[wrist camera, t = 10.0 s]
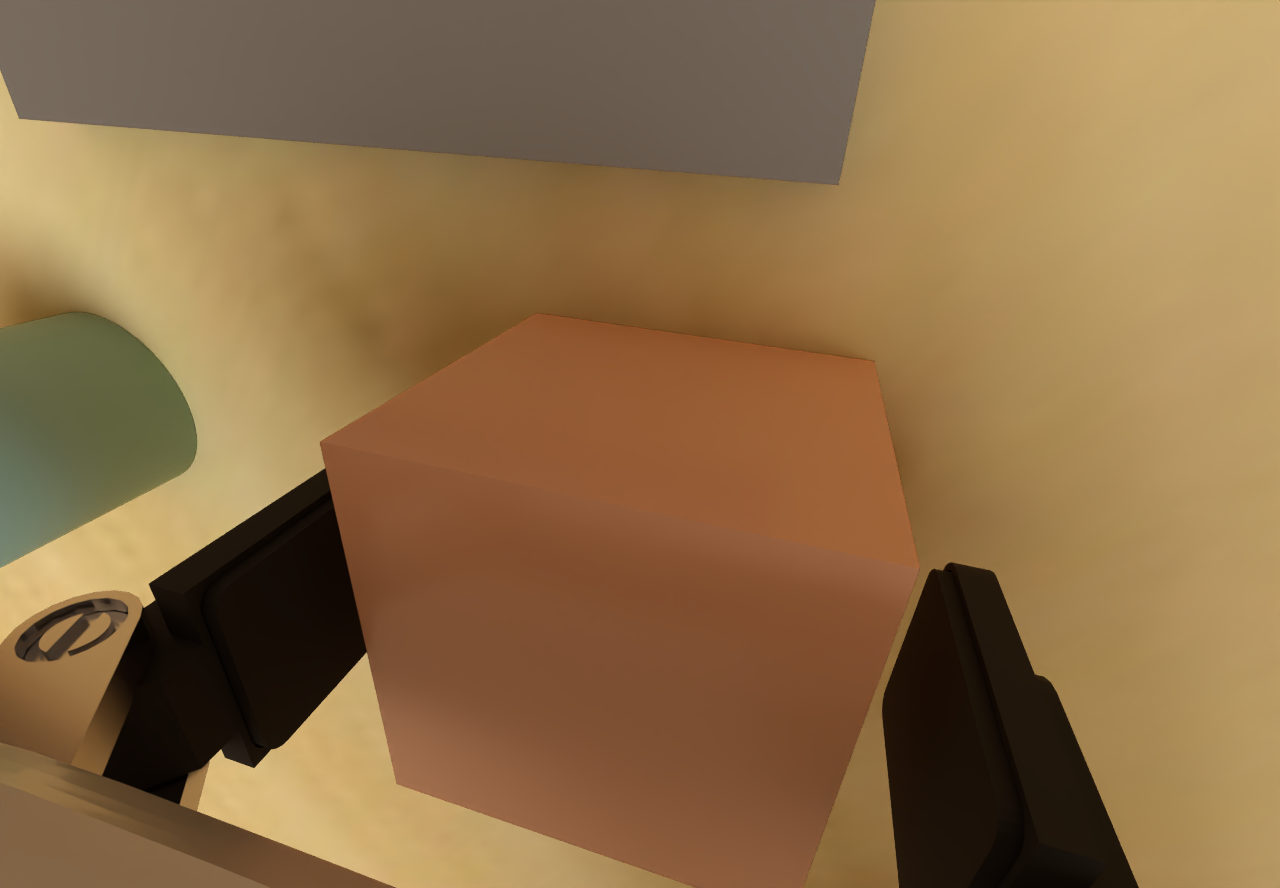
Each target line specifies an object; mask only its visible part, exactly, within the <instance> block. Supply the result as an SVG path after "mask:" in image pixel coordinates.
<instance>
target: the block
mask: <svg viewBox="0 0 1280 888" xmlns="http://www.w3.org/2000/svg"><path fill="white" fill-rule="evenodd" d="M320 446H321V450H322V454H323V459H324V463H325V468H326V472H327V477H328V481H329V485H330V490H331V494H332V499H333V503H334V508H335V512H336V517H337V521H338V525H339V530H340V534H341V539H342V543H343V548H344V552H345V556H346V561H347V565H348V570H349V574H350V579H351V583H352V588H353V592H354V596H355V601H356V605H357V610H358V614H359V619H360V623H361V627H362V632H363V636H364V641H365V645H366V650H367V654H368V659H369V663H370V667H371V672H372V676H373V681H374V685H375V690H376V694H377V698H378V703H379V707H380V712H381V716H382V721H383V725H384V730H385V734H386V738H387V743H388V747H389V752H390V756H391V761H392V765H393V769H394V774H395V778H396V783H397V784H398V785H401V786H404V787H407V788H410V789H413V790H416V791H419V792H422V793H424V794H427V795H430V796H433V797H436V798H439V799H442V800H445V801H448V802H451V803H453V804H456V805H459V806H462V807H465V808H468V809H471V810H474V811H477V812H479V813H482V814H485V815H488V816H491V817H494V818H497V819H500V820H503V821H505V822H508V823H511V824H514V825H517V826H520V827H523V828H526V829H529V830H532V831H534V832H537V833H540V834H543V835H546V836H549V837H552V838H555V839H558V840H560V841H563V842H566V843H569V844H572V845H575V846H578V847H581V848H584V849H586V850H589V851H592V852H595V853H598V854H601V855H604V856H607V857H610V858H612V859H615V860H618V861H621V862H624V863H627V864H630V865H633V866H636V867H639V868H641V869H644V870H647V871H650V872H653V873H656V874H659V875H662V876H665V877H667V878H670V879H673V880H676V881H679V882H682V883H685V884H688V885H691V886H693V887H696V888H803V886H804V884H805V881H806V878H807V875H808V873H809V870H810V867H811V865H812V862H813V859H814V856H815V854H816V851H817V848H818V845H819V843H820V840H821V837H822V835H823V832H824V829H825V826H826V824H827V821H828V818H829V815H830V813H831V810H832V807H833V805H834V802H835V799H836V796H837V794H838V791H839V788H840V786H841V783H842V780H843V777H844V775H845V772H846V769H847V766H848V764H849V761H850V758H851V756H852V753H853V750H854V747H855V745H856V742H857V739H858V736H859V734H860V731H861V728H862V726H863V723H864V720H865V717H866V715H867V712H868V709H869V707H870V704H871V701H872V698H873V696H874V693H875V690H876V687H877V685H878V682H879V679H880V677H881V674H882V671H883V668H884V666H885V663H886V660H887V657H888V655H889V652H890V649H891V647H892V644H893V641H894V638H895V636H896V633H897V630H898V627H899V625H900V622H901V619H902V617H903V614H904V611H905V608H906V606H907V603H908V600H909V598H910V595H911V592H912V589H913V587H914V584H915V581H916V578H917V576H918V573H919V570H920V566H919V561H918V557H917V552H916V548H915V543H914V539H913V534H912V530H911V525H910V521H909V516H908V512H907V507H906V503H905V498H904V493H903V489H902V484H901V480H900V475H899V471H898V466H897V462H896V457H895V453H894V448H893V444H892V439H891V435H890V430H889V426H888V421H887V416H886V412H885V407H884V403H883V398H882V394H881V389H880V385H879V380H878V376H877V371H876V367H875V362H874V361H869V360H862V359H855V358H848V357H841V356H834V355H827V354H820V353H813V352H806V351H799V350H792V349H785V348H778V347H771V346H764V345H757V344H750V343H743V342H736V341H729V340H722V339H715V338H708V337H701V336H694V335H687V334H680V333H673V332H666V331H659V330H652V329H645V328H638V327H631V326H624V325H617V324H610V323H603V322H596V321H589V320H582V319H575V318H568V317H561V316H554V315H547V314H540V313H536V314H534V315H532V316H531V317H529V318H527V319H525V320H524V321H522V322H520V323H519V324H517V325H515V326H514V327H512V328H510V329H509V330H507V331H505V332H504V333H502V334H500V335H499V336H497V337H495V338H493V339H492V340H490V341H488V342H487V343H485V344H483V345H482V346H480V347H478V348H477V349H475V350H473V351H472V352H470V353H468V354H467V355H465V356H463V357H462V358H460V359H458V360H456V361H455V362H453V363H451V364H450V365H448V366H446V367H445V368H443V369H441V370H440V371H438V372H436V373H435V374H433V375H431V376H430V377H428V378H426V379H425V380H423V381H421V382H419V383H418V384H416V385H414V386H413V387H411V388H409V389H408V390H406V391H404V392H403V393H401V394H399V395H398V396H396V397H394V398H393V399H391V400H389V401H388V402H386V403H384V404H382V405H381V406H379V407H377V408H376V409H374V410H372V411H371V412H369V413H367V414H366V415H364V416H362V417H361V418H359V419H357V420H356V421H354V422H352V423H351V424H349V425H347V426H345V427H344V428H342V429H340V430H339V431H337V432H335V433H334V434H332V435H330V436H329V437H327V438H325V439H324V440H322V441H320Z"/></svg>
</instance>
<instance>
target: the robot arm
mask: <svg viewBox="0 0 1280 888" xmlns="http://www.w3.org/2000/svg"><path fill="white" fill-rule="evenodd" d="M149 586H150V588H151V591H152V593H153V595H154V597H155V601H154V602H152V603H151V604H149V605H148V606H146V607H145V608H144V607H143V605H142V603H141V601H140V599H139V597H137V596H135V595H133V594H131V593H129V592H123V591H115V590H113V591H102V592H93V593H89V594H85V595H81V596H77V597H73V598H71V599H68V600H65V601H63V602H60V603H57V604H55V605H52V606H50V607H49V608H47V609H45V610H43V611H41V612H39V613H37V614H35V615H33V616H32V617H30V618H29V619H27V620H26V621H25V622H23V623H22V624H20V625H19V626H18V627H16V628H15V629H14V630H13V631H12V632H11V633H10V634H9V635H8V636H7V638H6V639H5V640H4V641H3V642H2V643H1V645H0V888H395V887H393V886H390V885H388V884H385V883H382V882H380V881H377V880H375V879H372V878H369V877H367V876H364V875H362V874H359V873H356V872H354V871H351V870H349V869H346V868H343V867H341V866H338V865H336V864H333V863H331V862H328V861H325V860H323V859H320V858H318V857H315V856H312V855H310V854H307V853H305V852H302V851H299V850H297V849H294V848H292V847H289V846H286V845H284V844H281V843H279V842H276V841H273V840H271V839H268V838H265V837H263V836H260V835H258V834H255V833H252V832H250V831H247V830H244V829H242V828H239V827H236V826H234V825H231V824H229V823H226V822H223V821H221V820H218V819H215V818H213V817H210V816H208V815H205V814H202V813H200V812H197V809H198V805H199V801H200V797H201V794H202V790H203V786H204V782H205V778H206V774H207V770H208V767H209V760H210V759H211V758H212V757H213V756H214V755H215V754H216V753H217V752H218V751H219V750H220V749H222V752H223V754H224V756H225V758H228V759H230V760H233V761H236V762H239V763H241V764H244V765H247V766H250V767H253V768H255V767H256V765H257V764H258V763H259V762H260V761H261V760H262V759H263V758H264V757H265V756H266V755H267V753H268V752H269V751H270V750H271V749H276V748H278V747H280V746H281V745H283V744H284V743H285V742H286V741H287V740H288V739H289V738H290V737H291V736H292V735H293V734H294V733H295V731H296V730H297V729H298V728H299V727H300V726H301V725H302V724H303V722H304V721H305V720H306V719H307V718H308V717H309V716H310V715H311V714H312V712H313V711H314V710H315V709H316V708H317V707H318V706H319V705H320V704H321V702H322V701H323V700H324V699H325V698H326V697H327V696H328V695H329V694H330V692H331V691H332V690H333V689H334V688H335V687H336V686H337V685H338V683H339V682H340V681H341V680H342V679H343V678H344V677H345V676H346V675H347V673H348V672H349V671H350V670H351V669H352V668H353V667H354V666H355V665H356V663H357V662H358V661H359V660H360V659H361V658H362V657H363V656H364V655H365V653H366V652H367V650H366V645H365V641H364V636H363V632H362V627H361V623H360V619H359V614H358V610H357V605H356V601H355V596H354V592H353V588H352V583H351V579H350V574H349V570H348V565H347V561H346V556H345V552H344V548H343V543H342V539H341V534H340V530H339V525H338V521H337V517H336V512H335V508H334V503H333V499H332V494H331V490H330V485H329V481H328V477H327V472H326V468H325V469H323V470H322V471H320V472H319V473H317V474H316V475H314V476H313V477H311V478H310V479H308V480H307V481H305V482H304V483H302V484H300V485H299V486H297V487H296V488H294V489H293V490H291V491H290V492H288V493H287V494H285V495H284V496H282V497H281V498H279V499H278V500H276V501H275V502H273V503H271V504H270V505H268V506H267V507H265V508H264V509H262V510H261V511H259V512H258V513H256V514H255V515H253V516H252V517H250V518H249V519H247V520H245V521H244V522H242V523H241V524H239V525H238V526H236V527H235V528H233V529H232V530H230V531H229V532H227V533H226V534H224V535H223V536H221V537H219V538H218V539H216V540H215V541H213V542H212V543H210V544H209V545H207V546H206V547H204V548H203V549H201V550H200V551H198V552H197V553H195V554H194V555H192V556H190V557H189V558H187V559H186V560H184V561H183V562H181V563H180V564H178V565H177V566H175V567H174V568H172V569H171V570H169V571H168V572H166V573H164V574H163V575H161V576H160V577H158V578H157V579H155V580H154V581H152V582H151V583H149ZM882 718H883V728H884V738H885V748H886V758H887V768H888V778H889V788H890V798H891V808H892V818H893V828H894V839H895V849H896V859H897V869H898V879H899V888H1139V887H1138V885H1137V883H1136V880H1135V878H1134V875H1133V873H1132V871H1131V868H1130V866H1129V864H1128V861H1127V859H1126V856H1125V854H1124V852H1123V849H1122V847H1121V845H1120V842H1119V840H1118V837H1117V835H1116V833H1115V830H1114V828H1113V825H1112V823H1111V821H1110V818H1109V816H1108V814H1107V811H1106V809H1105V806H1104V804H1103V802H1102V799H1101V797H1100V794H1099V792H1098V790H1097V787H1096V785H1095V783H1094V780H1093V778H1092V775H1091V773H1090V771H1089V768H1088V766H1087V763H1086V761H1085V759H1084V756H1083V754H1082V752H1081V749H1080V747H1079V744H1078V742H1077V740H1076V737H1075V735H1074V733H1073V730H1072V728H1071V725H1070V723H1069V721H1068V718H1067V716H1066V713H1065V711H1064V709H1063V706H1062V704H1061V702H1060V699H1059V697H1058V694H1057V692H1056V691H1055V689H1054V687H1053V685H1052V684H1051V682H1050V681H1048V680H1047V679H1046V678H1045V677H1043V676H1038V675H1035V674H1034V671H1033V669H1032V666H1031V664H1030V661H1029V659H1028V656H1027V654H1026V651H1025V649H1024V646H1023V643H1022V641H1021V638H1020V636H1019V633H1018V631H1017V628H1016V626H1015V623H1014V621H1013V618H1012V615H1011V613H1010V610H1009V608H1008V605H1007V603H1006V600H1005V598H1004V595H1003V593H1002V590H1001V587H1000V585H999V582H998V580H997V577H996V576H995V574H994V572H992V571H990V570H985V569H981V568H976V567H971V566H966V565H961V564H956V563H948V564H947V565H946V566H945V568H944V570H943V571H942V570H937V569H933V570H931V572H930V573H929V575H928V578H927V580H926V583H925V586H924V588H923V591H922V594H921V596H920V599H919V602H918V604H917V607H916V610H915V612H914V615H913V618H912V620H911V623H910V626H909V628H908V631H907V634H906V636H905V639H904V642H903V644H902V647H901V650H900V652H899V655H898V658H897V660H896V663H895V666H894V668H893V671H892V674H891V676H890V679H889V682H888V684H887V687H886V690H885V693H884V698H883V705H882Z"/></svg>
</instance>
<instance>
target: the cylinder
mask: <svg viewBox="0 0 1280 888" xmlns="http://www.w3.org/2000/svg"><path fill="white" fill-rule="evenodd" d="M196 448H197V435H196V429H195V424H194V421H193V417H192V414H191V411H190V409H189V406H188V404H187V402H186V400H185V398H184V396H183V394H182V392H181V390H180V389H179V387H178V385H177V383H176V382H175V380H174V379H173V377H172V376H171V375H170V373H169V372H168V370H167V369H166V368H165V367H164V365H163V364H162V363H161V362H160V361H159V359H158V358H157V357H156V356H155V355H154V354H153V353H152V352H151V351H150V350H149V349H148V348H147V347H146V346H145V345H144V344H143V343H141V342H140V341H139V340H138V339H137V338H136V337H134V336H133V335H132V334H130V333H129V332H128V331H126V330H125V329H123V328H122V327H120V326H118V325H117V324H115V323H113V322H111V321H109V320H107V319H105V318H102V317H100V316H97V315H94V314H90V313H84V312H70V313H65V314H61V315H56V316H52V317H47V318H43V319H39V320H34V321H30V322H25V323H21V324H17V325H12V326H8V327H3V328H0V568H1V567H3V566H5V565H7V564H9V563H11V562H13V561H15V560H17V559H18V558H20V557H22V556H24V555H26V554H28V553H30V552H32V551H34V550H36V549H38V548H40V547H42V546H44V545H46V544H47V543H49V542H51V541H53V540H55V539H57V538H59V537H61V536H63V535H65V534H67V533H69V532H71V531H73V530H75V529H77V528H78V527H80V526H82V525H84V524H86V523H88V522H90V521H92V520H94V519H96V518H98V517H100V516H102V515H104V514H106V513H107V512H109V511H111V510H113V509H115V508H117V507H119V506H121V505H123V504H125V503H127V502H129V501H131V500H133V499H135V498H136V497H138V496H140V495H142V494H144V493H146V492H148V491H150V490H152V489H154V488H156V487H158V486H160V485H162V484H164V483H165V482H167V481H169V480H171V479H173V478H175V477H177V476H179V475H181V474H182V473H184V472H185V471H186V470H187V469H188V468H189V467H190V466H191V464H192V462H193V461H194V458H195V455H196Z"/></svg>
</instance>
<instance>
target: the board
mask: <svg viewBox="0 0 1280 888" xmlns="http://www.w3.org/2000/svg"><path fill="white" fill-rule="evenodd" d="M875 1H876V0H0V70H1V73H2V76H3V78H4V81H5V83H6V86H7V88H8V91H9V94H10V96H11V99H12V101H13V104H14V107H15V109H16V112H17V114H18V117H19V119H29V120H42V121H54V122H66V123H79V124H91V125H103V126H116V127H128V128H140V129H153V130H165V131H177V132H190V133H202V134H215V135H227V136H239V137H252V138H264V139H276V140H289V141H301V142H313V143H326V144H338V145H350V146H363V147H375V148H387V149H400V150H412V151H425V152H437V153H449V154H462V155H474V156H486V157H499V158H511V159H523V160H536V161H548V162H560V163H573V164H585V165H597V166H610V167H622V168H635V169H647V170H659V171H672V172H684V173H696V174H709V175H721V176H733V177H746V178H758V179H770V180H783V181H795V182H807V183H820V184H832V185H839V180H840V175H841V170H842V165H843V160H844V155H845V150H846V145H847V140H848V135H849V130H850V125H851V120H852V115H853V110H854V105H855V100H856V95H857V90H858V85H859V80H860V75H861V70H862V65H863V61H864V56H865V51H866V46H867V41H868V36H869V31H870V26H871V21H872V16H873V11H874V6H875Z"/></svg>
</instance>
